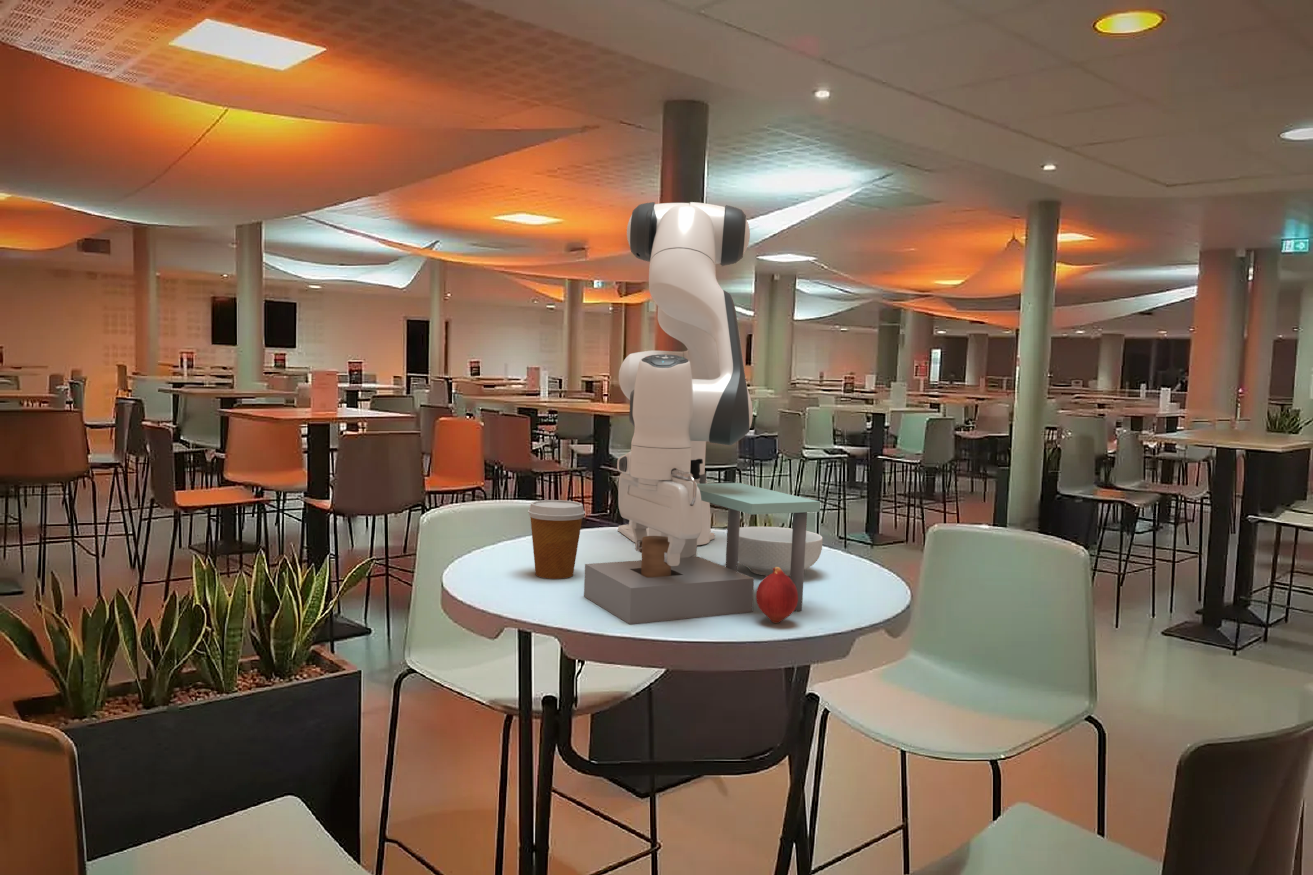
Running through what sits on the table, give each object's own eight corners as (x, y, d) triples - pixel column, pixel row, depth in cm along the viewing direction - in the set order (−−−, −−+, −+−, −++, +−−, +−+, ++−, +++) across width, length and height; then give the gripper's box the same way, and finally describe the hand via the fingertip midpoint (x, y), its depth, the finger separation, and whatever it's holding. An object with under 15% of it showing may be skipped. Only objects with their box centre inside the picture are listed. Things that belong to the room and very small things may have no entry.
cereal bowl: (840, 576, 159) (842, 536, 159) (776, 587, 148) (778, 545, 148) (769, 558, 172) (771, 522, 172) (706, 567, 161) (708, 528, 161)
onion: (774, 615, 131) (776, 560, 130) (805, 624, 126) (808, 568, 126) (746, 621, 127) (749, 565, 126) (777, 630, 123) (780, 573, 122)
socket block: (583, 596, 137) (585, 564, 137) (697, 586, 146) (698, 556, 146) (629, 624, 123) (631, 588, 122) (752, 611, 132) (753, 578, 132)
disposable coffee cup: (527, 581, 145) (529, 507, 144) (524, 568, 154) (526, 499, 154) (586, 581, 147) (588, 508, 146) (579, 568, 156) (582, 500, 155)
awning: (672, 584, 147) (676, 484, 146) (734, 579, 153) (739, 482, 152) (746, 618, 128) (752, 503, 127) (814, 611, 134) (820, 501, 132)
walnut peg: (634, 602, 135) (637, 536, 134) (660, 600, 137) (663, 535, 136) (648, 610, 131) (650, 542, 130) (674, 607, 133) (677, 540, 132)
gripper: (715, 473, 124) (710, 572, 125) (648, 458, 142) (645, 544, 144) (675, 474, 121) (671, 575, 123) (612, 458, 140) (609, 546, 141)
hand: (656, 558), depth 133 cm, fingers open, 8 cm apart
